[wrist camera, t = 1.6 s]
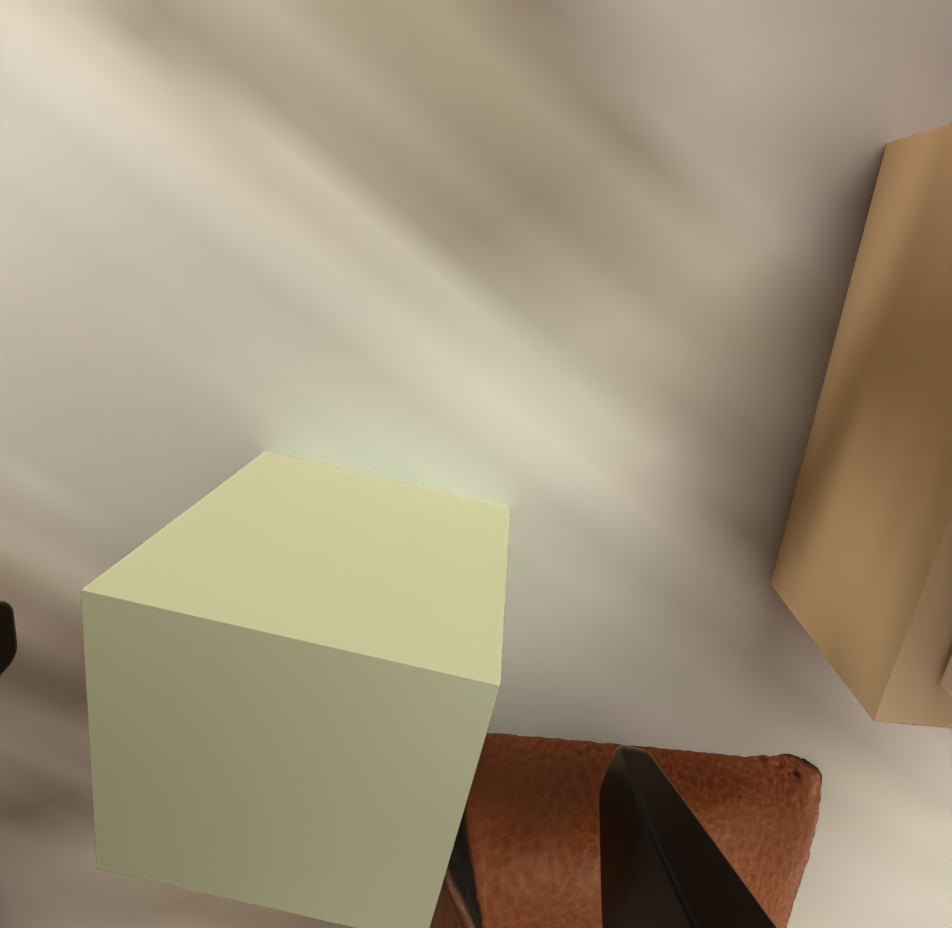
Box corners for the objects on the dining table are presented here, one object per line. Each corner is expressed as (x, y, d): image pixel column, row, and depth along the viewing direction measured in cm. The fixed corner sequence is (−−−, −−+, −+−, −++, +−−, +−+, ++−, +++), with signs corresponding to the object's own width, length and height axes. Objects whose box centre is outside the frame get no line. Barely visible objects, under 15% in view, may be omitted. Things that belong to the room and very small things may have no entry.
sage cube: (460, 695, 12) (425, 942, 7) (251, 647, 12) (96, 868, 7) (509, 505, 10) (499, 686, 6) (266, 450, 10) (81, 590, 6)
